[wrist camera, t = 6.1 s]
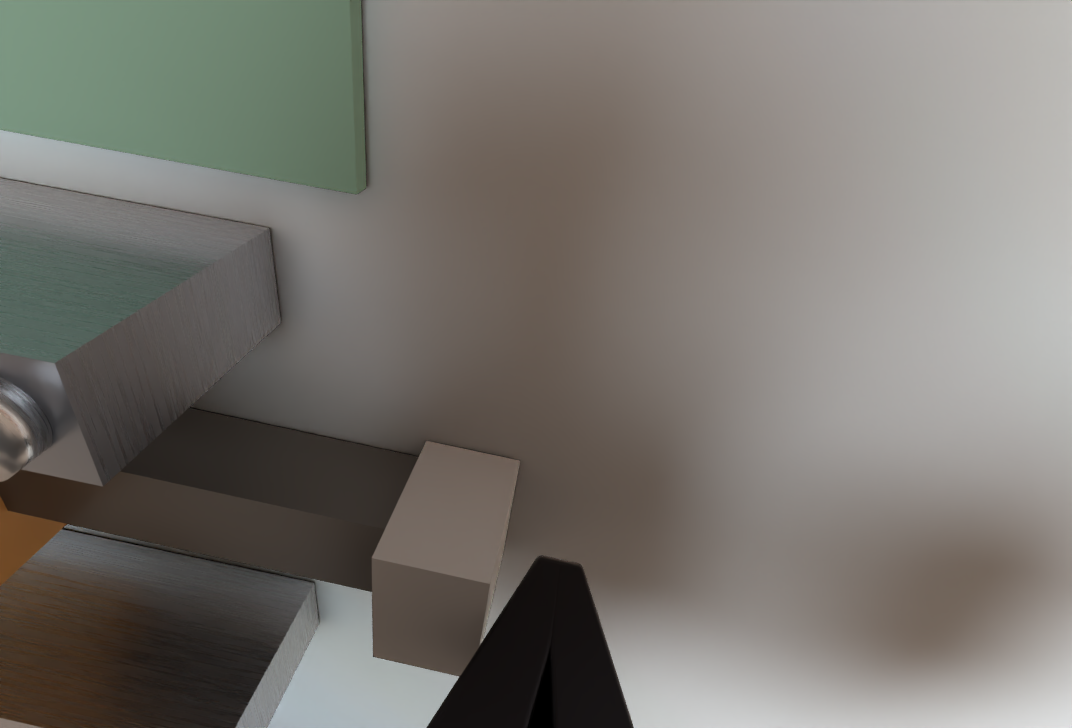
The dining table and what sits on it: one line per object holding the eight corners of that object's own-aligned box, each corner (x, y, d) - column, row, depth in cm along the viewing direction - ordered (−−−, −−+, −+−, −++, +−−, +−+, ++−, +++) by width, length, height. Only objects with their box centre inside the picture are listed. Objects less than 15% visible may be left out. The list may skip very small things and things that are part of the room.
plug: (527, 424, 9) (452, 723, 5) (498, 579, 11) (431, 870, 8) (-193, 272, 10) (-732, 451, 6) (-85, 451, 12) (-425, 665, 8)
